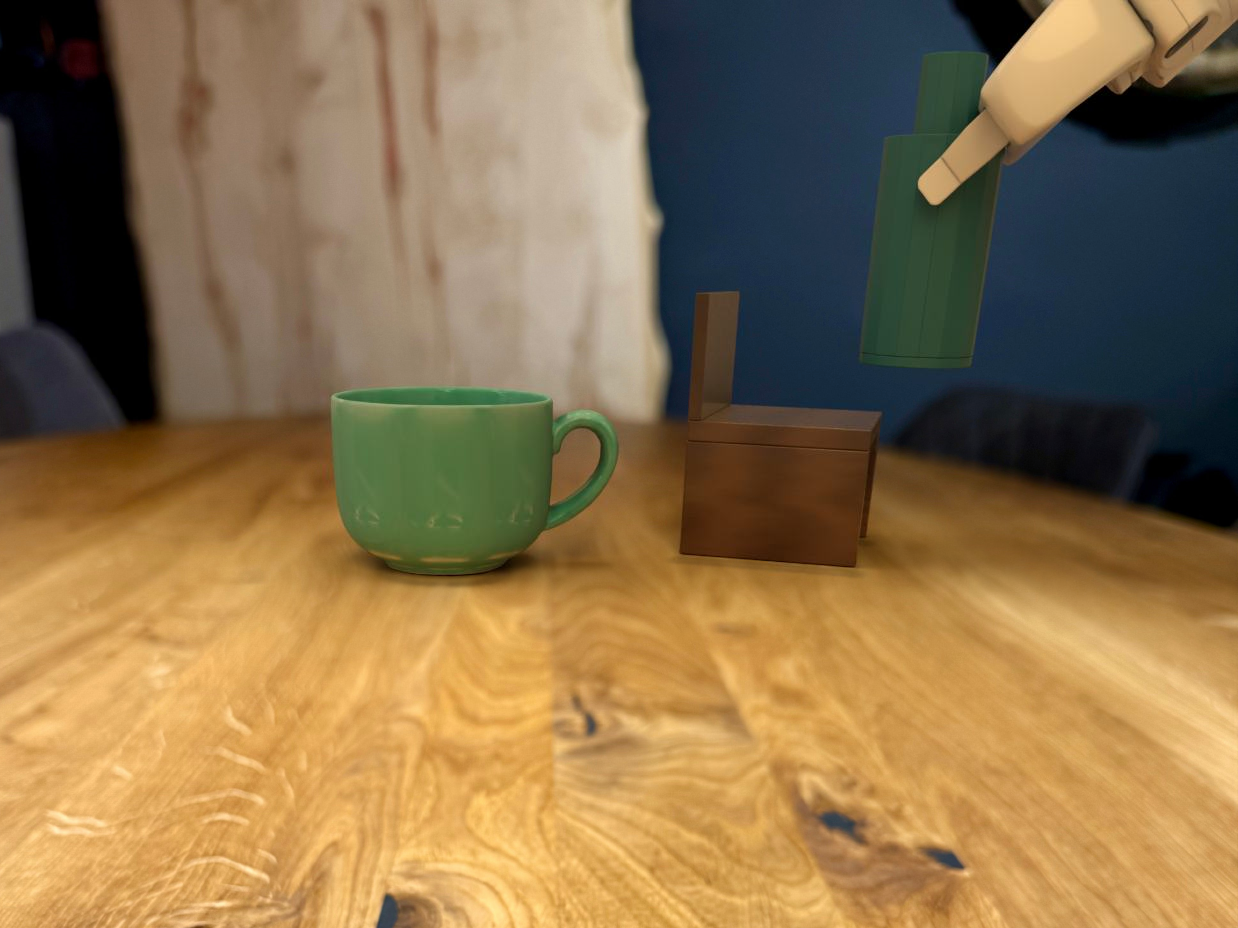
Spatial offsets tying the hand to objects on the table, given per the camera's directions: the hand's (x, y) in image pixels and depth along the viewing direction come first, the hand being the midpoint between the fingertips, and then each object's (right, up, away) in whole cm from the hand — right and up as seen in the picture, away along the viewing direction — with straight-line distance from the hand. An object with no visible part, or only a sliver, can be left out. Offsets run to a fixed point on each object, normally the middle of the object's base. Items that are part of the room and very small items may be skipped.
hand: (925, 198), depth 76 cm
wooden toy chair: (-7, -17, +11) cm, 21 cm away
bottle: (0, -8, +4) cm, 9 cm away
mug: (-26, -21, +2) cm, 34 cm away
